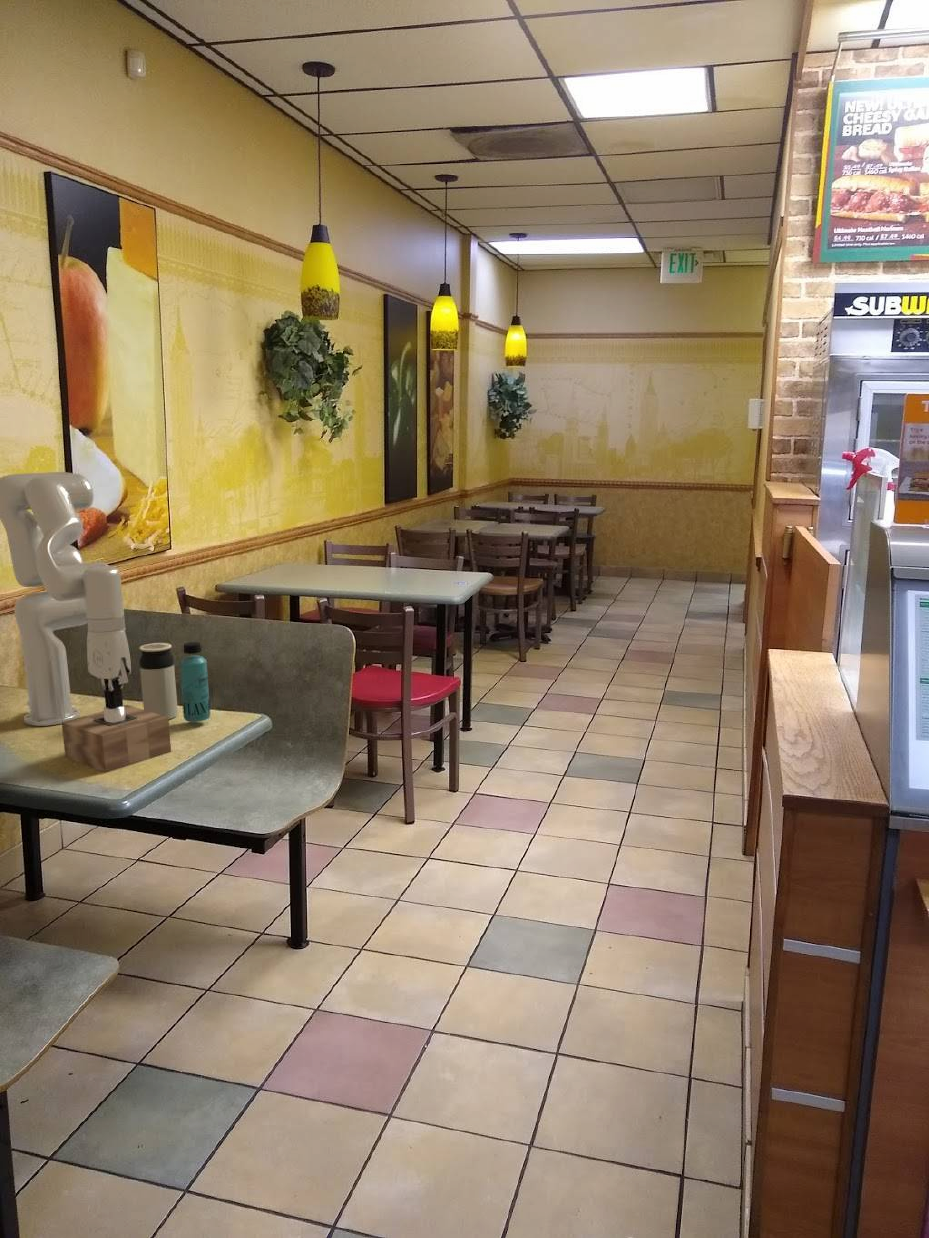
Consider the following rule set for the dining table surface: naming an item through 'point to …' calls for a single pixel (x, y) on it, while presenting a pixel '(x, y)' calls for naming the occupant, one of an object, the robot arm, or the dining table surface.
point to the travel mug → (158, 679)
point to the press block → (116, 739)
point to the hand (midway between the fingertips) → (114, 706)
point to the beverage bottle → (194, 684)
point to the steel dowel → (114, 714)
